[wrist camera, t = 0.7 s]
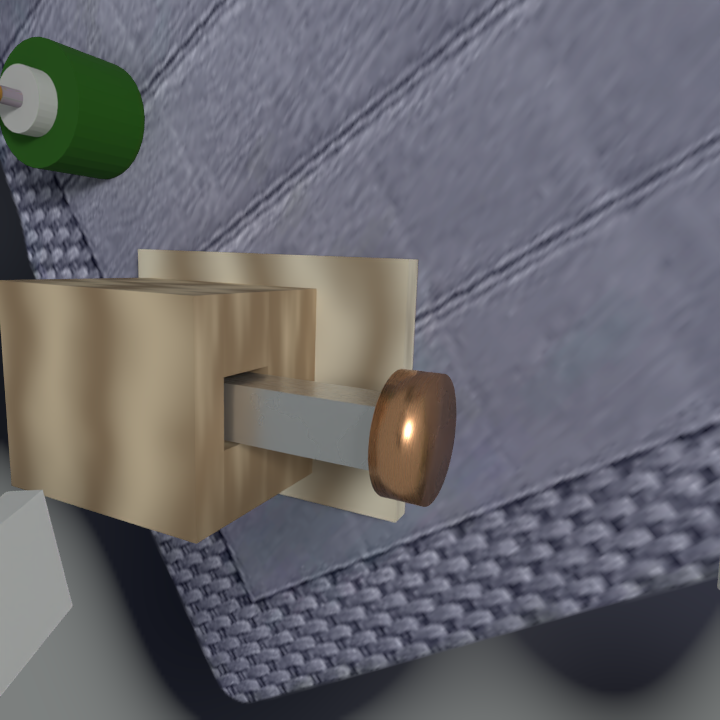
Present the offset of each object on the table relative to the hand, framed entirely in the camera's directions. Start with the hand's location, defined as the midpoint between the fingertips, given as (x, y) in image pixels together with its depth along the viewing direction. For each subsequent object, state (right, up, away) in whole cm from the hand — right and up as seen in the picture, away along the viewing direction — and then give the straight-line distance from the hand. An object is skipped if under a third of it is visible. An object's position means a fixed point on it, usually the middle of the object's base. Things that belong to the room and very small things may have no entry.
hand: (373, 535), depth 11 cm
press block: (-7, +3, +29) cm, 30 cm away
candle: (-20, +21, +33) cm, 44 cm away
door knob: (-2, +1, +21) cm, 21 cm away
